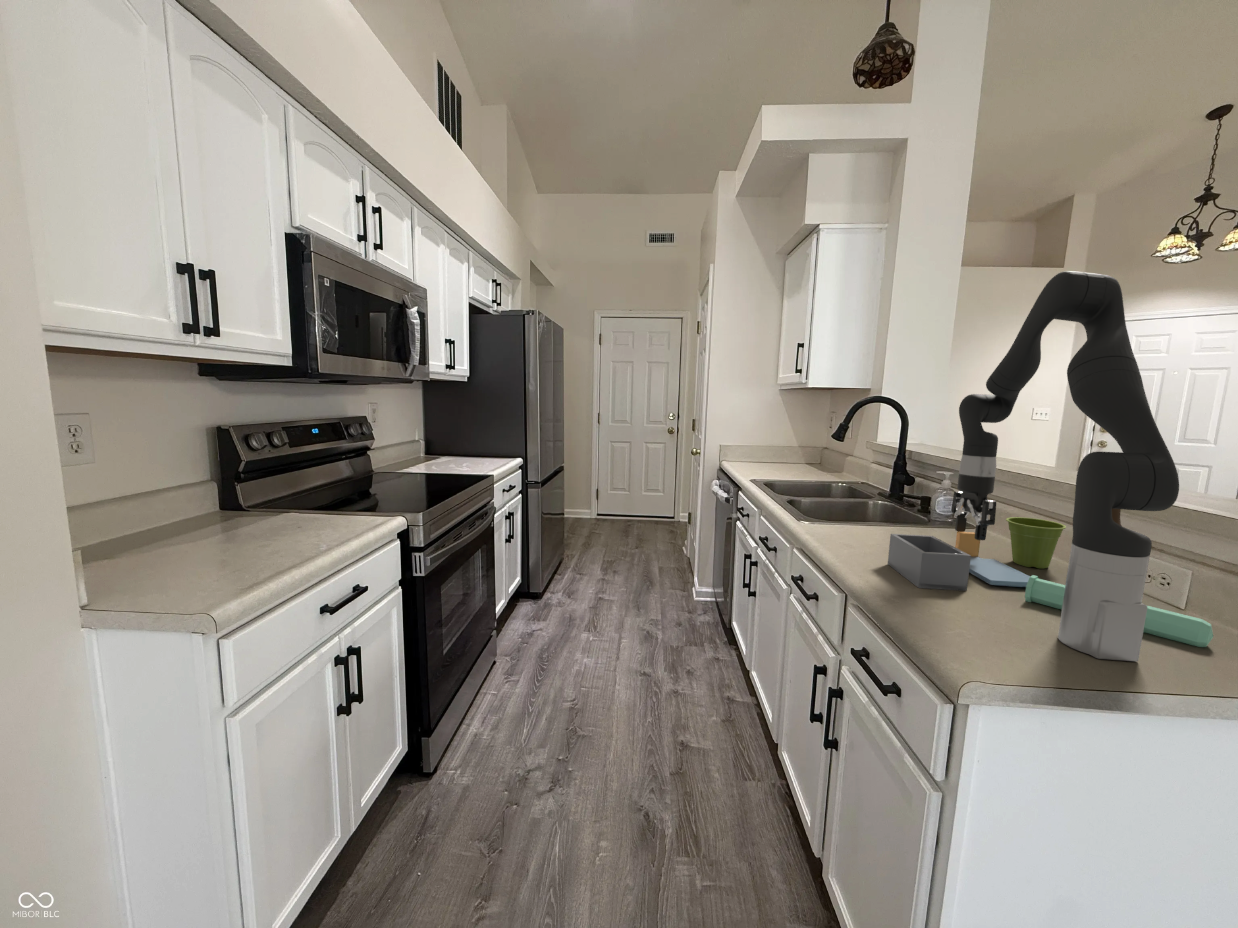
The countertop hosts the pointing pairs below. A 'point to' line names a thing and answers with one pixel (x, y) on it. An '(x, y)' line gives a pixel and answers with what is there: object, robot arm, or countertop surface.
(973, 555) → the lid
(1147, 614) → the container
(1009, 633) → the countertop surface
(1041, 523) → the plant pot
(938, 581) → the storage box
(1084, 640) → the robot arm
